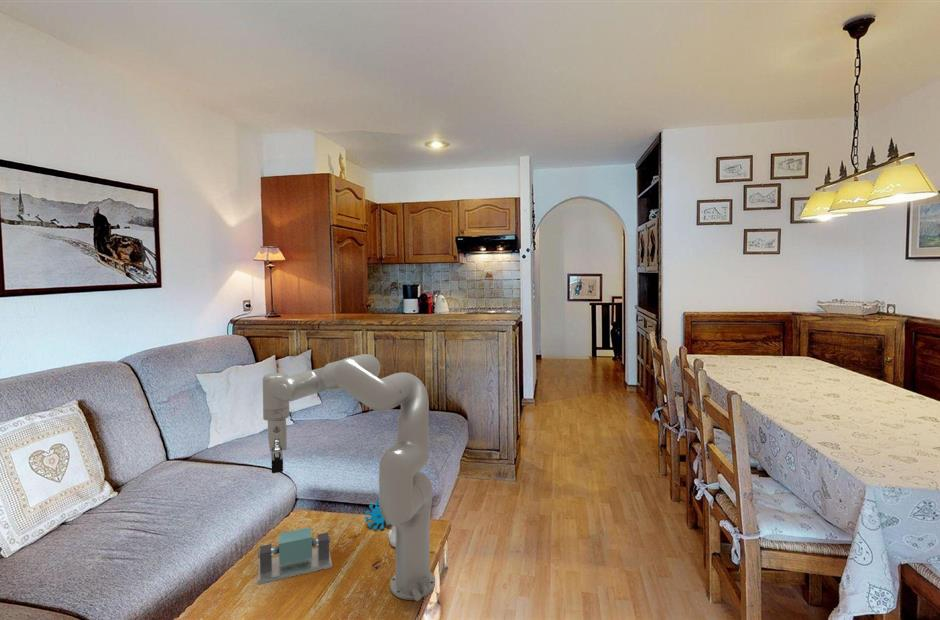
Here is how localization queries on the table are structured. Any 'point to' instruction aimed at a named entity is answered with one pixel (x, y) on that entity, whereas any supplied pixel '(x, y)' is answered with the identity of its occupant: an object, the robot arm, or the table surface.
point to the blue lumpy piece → (375, 516)
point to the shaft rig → (274, 571)
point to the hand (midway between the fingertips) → (277, 466)
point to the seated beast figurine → (392, 536)
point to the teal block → (295, 546)
